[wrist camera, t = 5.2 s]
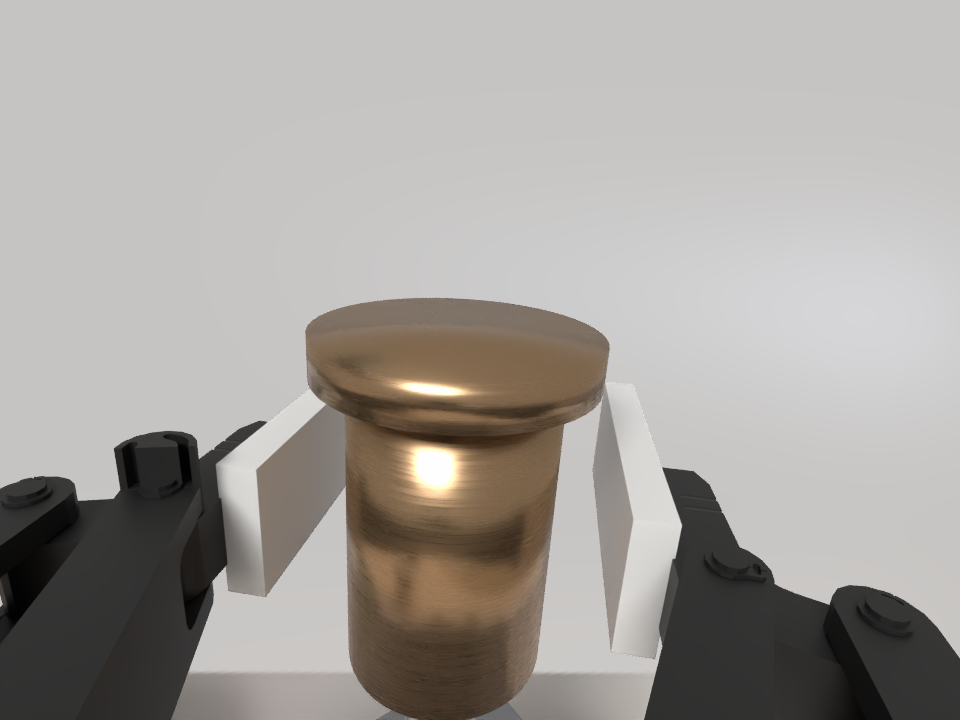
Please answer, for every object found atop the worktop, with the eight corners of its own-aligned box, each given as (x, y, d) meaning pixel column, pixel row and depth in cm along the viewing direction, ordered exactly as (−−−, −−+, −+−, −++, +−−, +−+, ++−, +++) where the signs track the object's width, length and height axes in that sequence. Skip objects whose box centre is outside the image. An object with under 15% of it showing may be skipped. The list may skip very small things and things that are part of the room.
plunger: (245, 902, 16) (178, 303, 10) (462, 754, 20) (494, 279, 15) (362, 1324, 10) (348, 486, 5) (628, 990, 15) (780, 360, 9)
